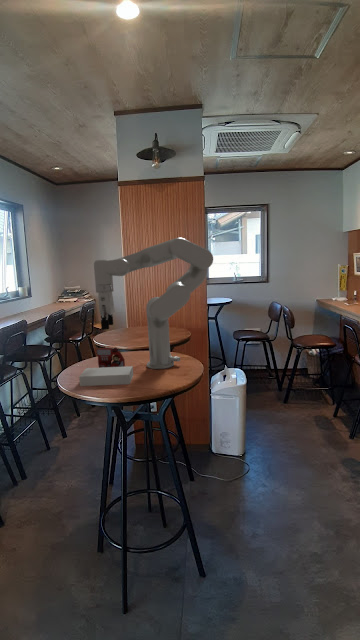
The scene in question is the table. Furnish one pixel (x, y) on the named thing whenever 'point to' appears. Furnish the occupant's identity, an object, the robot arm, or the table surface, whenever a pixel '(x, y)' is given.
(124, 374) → the block
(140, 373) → the table surface
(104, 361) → the toy fire truck
